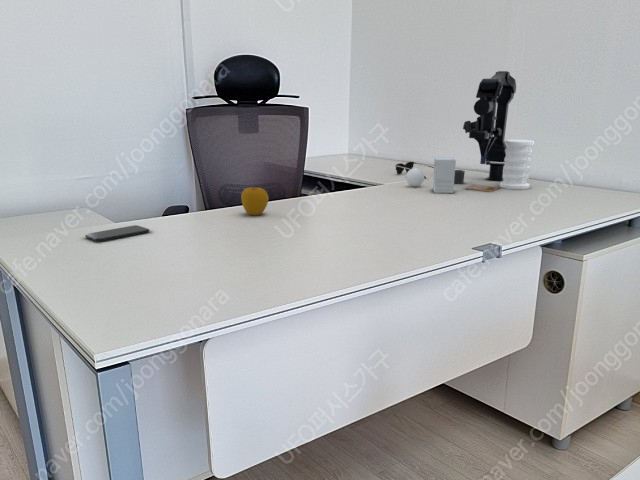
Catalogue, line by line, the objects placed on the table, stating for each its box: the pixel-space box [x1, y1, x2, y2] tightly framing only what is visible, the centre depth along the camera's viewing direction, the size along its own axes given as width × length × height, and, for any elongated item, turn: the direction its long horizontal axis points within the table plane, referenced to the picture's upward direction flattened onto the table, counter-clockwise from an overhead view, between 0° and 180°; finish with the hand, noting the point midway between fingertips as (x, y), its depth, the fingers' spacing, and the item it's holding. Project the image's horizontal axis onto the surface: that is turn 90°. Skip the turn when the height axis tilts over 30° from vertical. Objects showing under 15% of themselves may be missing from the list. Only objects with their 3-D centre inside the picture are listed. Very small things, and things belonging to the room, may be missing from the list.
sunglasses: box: [394, 161, 434, 180], centre depth 265 cm, size 14×16×5 cm
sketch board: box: [465, 184, 500, 193], centre depth 234 cm, size 10×10×1 cm
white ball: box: [405, 167, 425, 187], centre depth 238 cm, size 10×7×7 cm
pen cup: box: [454, 169, 465, 185], centre depth 246 cm, size 5×5×5 cm
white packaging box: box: [432, 156, 457, 194], centre depth 226 cm, size 7×7×13 cm
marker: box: [479, 150, 487, 165], centre depth 230 cm, size 2×2×9 cm
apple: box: [240, 186, 270, 217], centre depth 188 cm, size 9×8×9 cm
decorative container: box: [499, 138, 535, 190], centre depth 235 cm, size 12×12×18 cm
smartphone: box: [84, 224, 150, 242], centre depth 164 cm, size 8×1×16 cm
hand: (483, 155), depth 230 cm, fingers closed on marker, 2 cm apart
